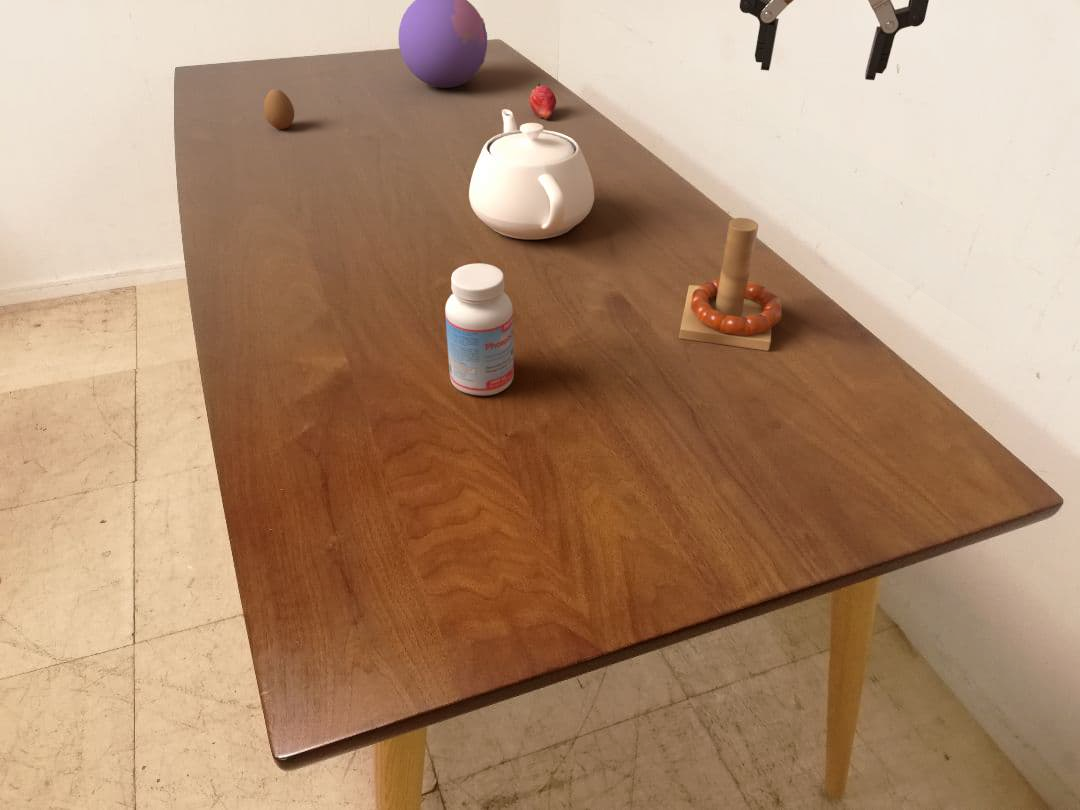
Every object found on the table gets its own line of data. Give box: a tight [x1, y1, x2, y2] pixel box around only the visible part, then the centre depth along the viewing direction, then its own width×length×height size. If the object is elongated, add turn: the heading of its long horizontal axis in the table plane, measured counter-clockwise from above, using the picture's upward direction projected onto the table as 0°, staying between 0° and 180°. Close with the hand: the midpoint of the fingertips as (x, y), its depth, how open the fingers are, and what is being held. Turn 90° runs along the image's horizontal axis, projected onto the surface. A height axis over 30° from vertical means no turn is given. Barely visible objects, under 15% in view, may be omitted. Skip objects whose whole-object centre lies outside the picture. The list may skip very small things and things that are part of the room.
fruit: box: [529, 80, 557, 121], centre depth 131 cm, size 4×6×5 cm
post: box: [678, 217, 772, 352], centre depth 83 cm, size 9×9×11 cm
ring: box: [691, 279, 783, 335], centre depth 85 cm, size 9×9×2 cm
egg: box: [263, 88, 295, 130], centre depth 126 cm, size 4×4×6 cm
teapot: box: [468, 108, 595, 240], centre depth 101 cm, size 25×16×12 cm, turn 16°
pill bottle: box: [444, 262, 515, 397], centre depth 75 cm, size 6×6×11 cm
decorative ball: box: [398, 0, 488, 89], centre depth 139 cm, size 15×15×15 cm
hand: (816, 72), depth 69 cm, fingers open, 8 cm apart
